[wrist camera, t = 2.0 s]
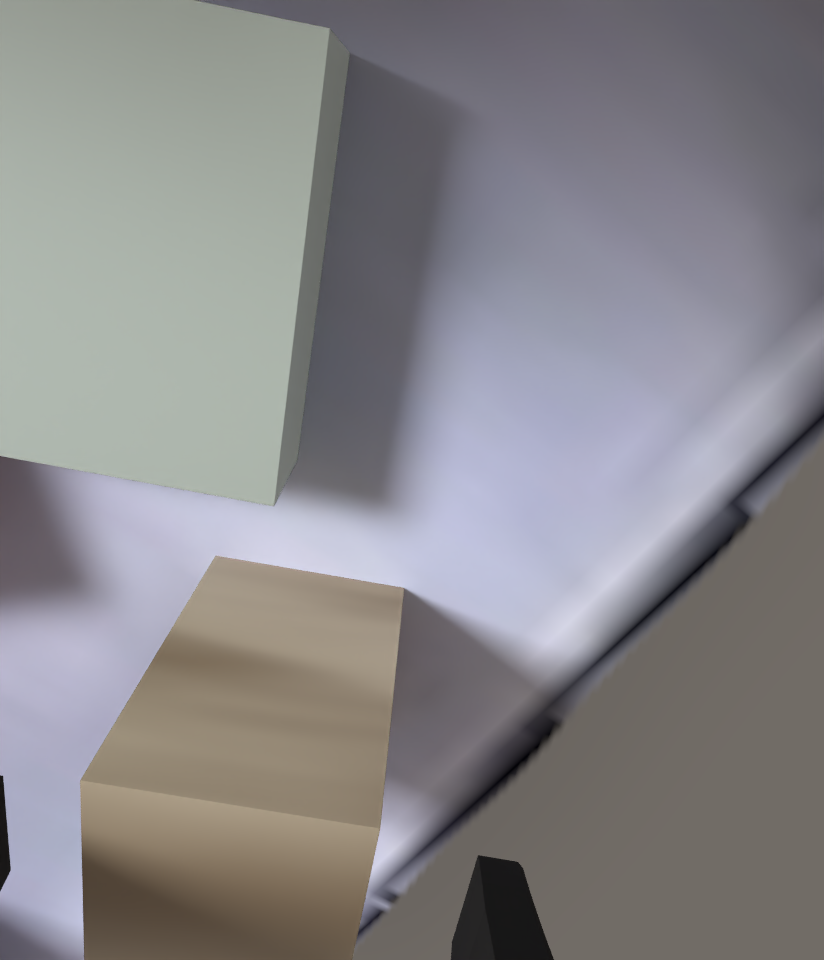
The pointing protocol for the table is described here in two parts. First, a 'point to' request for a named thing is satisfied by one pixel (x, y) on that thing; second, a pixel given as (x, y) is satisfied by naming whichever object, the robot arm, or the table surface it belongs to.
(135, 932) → the beech block
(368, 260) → the table surface
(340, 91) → the base block
